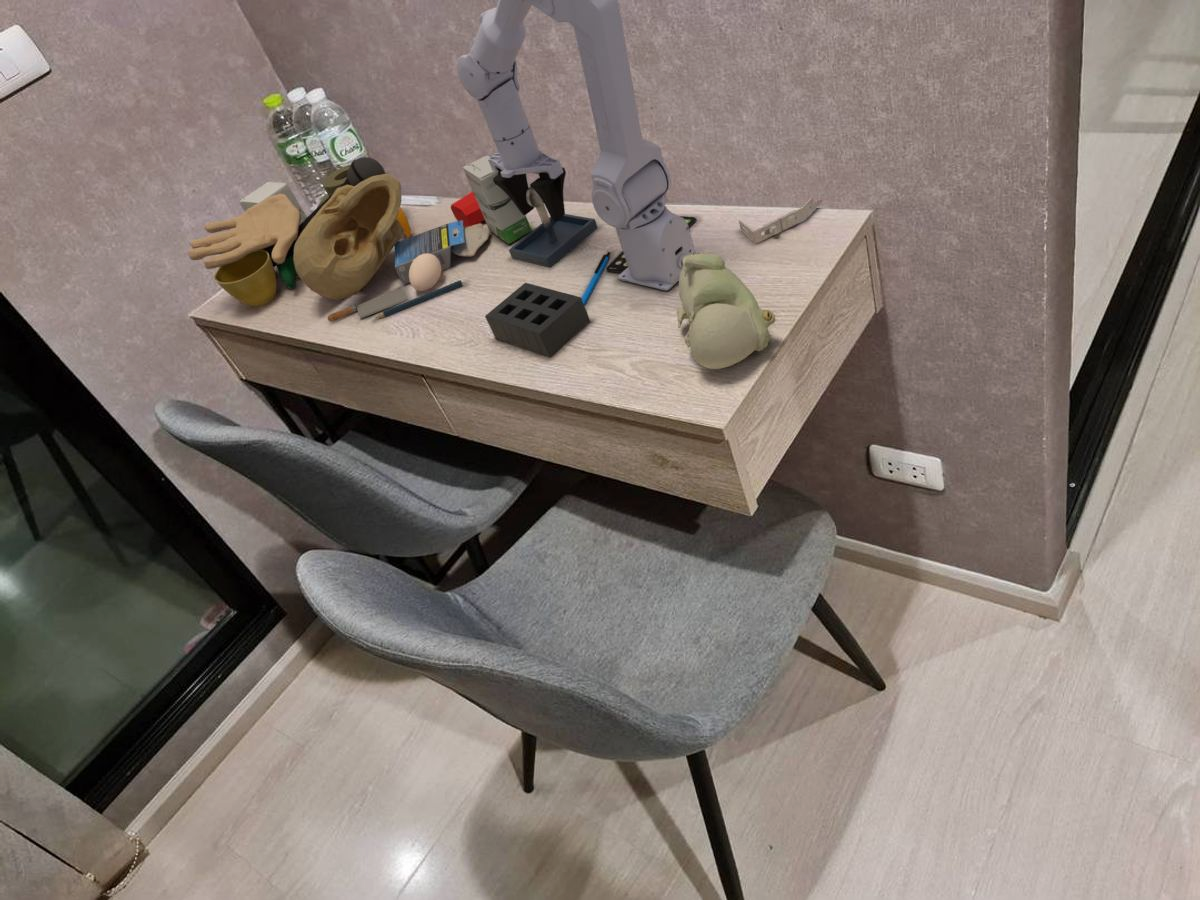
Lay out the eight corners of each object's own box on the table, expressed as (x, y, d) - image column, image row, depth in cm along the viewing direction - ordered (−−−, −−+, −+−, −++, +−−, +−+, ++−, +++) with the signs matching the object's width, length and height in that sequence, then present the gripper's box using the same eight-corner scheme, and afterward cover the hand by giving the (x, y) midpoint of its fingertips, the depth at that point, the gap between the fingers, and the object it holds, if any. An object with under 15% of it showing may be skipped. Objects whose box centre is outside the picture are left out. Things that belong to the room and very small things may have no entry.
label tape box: (403, 285, 140) (473, 262, 140) (393, 264, 138) (464, 241, 137) (403, 260, 147) (470, 238, 147) (393, 240, 144) (461, 217, 144)
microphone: (307, 254, 151) (386, 181, 145) (281, 224, 149) (359, 149, 143) (322, 248, 157) (398, 178, 151) (296, 219, 156) (372, 147, 149)
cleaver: (409, 303, 137) (404, 289, 141) (406, 296, 136) (401, 282, 140) (332, 335, 136) (329, 320, 140) (328, 329, 135) (325, 314, 139)
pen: (612, 255, 127) (610, 248, 126) (570, 335, 115) (568, 328, 114) (607, 255, 128) (604, 249, 127) (565, 335, 115) (562, 329, 115)
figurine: (698, 326, 91) (790, 322, 92) (678, 236, 102) (760, 233, 103) (690, 393, 99) (775, 389, 100) (672, 303, 110) (748, 300, 110)
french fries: (474, 231, 147) (530, 198, 150) (465, 211, 144) (522, 177, 148) (453, 220, 153) (508, 188, 156) (444, 200, 150) (500, 168, 154)
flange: (396, 158, 151) (358, 150, 161) (328, 201, 146) (292, 190, 156) (408, 181, 154) (370, 172, 164) (341, 225, 149) (306, 213, 159)
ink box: (533, 231, 140) (506, 164, 132) (507, 245, 139) (479, 179, 131) (513, 216, 146) (486, 152, 139) (488, 230, 145) (460, 166, 138)
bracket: (833, 173, 120) (738, 220, 119) (855, 187, 115) (756, 235, 115) (835, 185, 121) (741, 231, 120) (857, 199, 116) (759, 247, 116)
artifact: (453, 242, 147) (455, 269, 139) (446, 228, 145) (448, 255, 138) (490, 227, 146) (494, 253, 139) (483, 213, 145) (487, 239, 137)
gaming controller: (334, 269, 158) (315, 245, 159) (332, 260, 155) (312, 235, 155) (292, 296, 156) (272, 271, 156) (288, 287, 152) (268, 261, 152)
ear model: (368, 143, 136) (326, 213, 151) (304, 213, 125) (266, 282, 140) (433, 195, 140) (386, 258, 155) (377, 269, 129) (332, 329, 144)
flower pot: (258, 320, 149) (237, 286, 144) (225, 311, 154) (203, 278, 149) (299, 286, 154) (280, 253, 149) (265, 279, 159) (245, 246, 154)
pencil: (462, 284, 134) (374, 320, 134) (463, 286, 135) (376, 321, 135) (460, 279, 134) (372, 315, 134) (461, 281, 135) (374, 316, 135)
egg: (427, 242, 135) (410, 274, 132) (452, 260, 137) (436, 292, 134) (413, 252, 138) (397, 284, 136) (437, 270, 141) (422, 301, 138)
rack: (590, 321, 116) (581, 297, 113) (550, 357, 112) (539, 333, 110) (535, 305, 123) (525, 282, 121) (495, 338, 120) (484, 316, 117)
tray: (597, 227, 134) (594, 218, 133) (550, 267, 130) (546, 258, 129) (559, 220, 140) (555, 212, 139) (512, 258, 136) (508, 249, 135)
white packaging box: (294, 262, 162) (257, 203, 154) (274, 258, 166) (236, 201, 158) (322, 241, 165) (287, 182, 157) (302, 237, 170) (267, 180, 162)
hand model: (278, 187, 157) (187, 250, 154) (265, 169, 153) (171, 233, 150) (325, 241, 149) (229, 309, 146) (312, 223, 145) (213, 292, 142)
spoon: (562, 235, 135) (541, 180, 129) (547, 247, 134) (525, 191, 128) (559, 235, 136) (538, 179, 129) (545, 246, 134) (522, 191, 128)
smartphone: (698, 217, 126) (643, 274, 119) (699, 221, 127) (645, 278, 120) (658, 214, 131) (603, 270, 124) (659, 218, 131) (604, 273, 124)
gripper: (461, 142, 126) (496, 222, 135) (524, 148, 117) (557, 234, 125) (494, 118, 129) (526, 199, 138) (558, 123, 119) (588, 209, 128)
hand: (543, 214), depth 132 cm, fingers open, 7 cm apart
